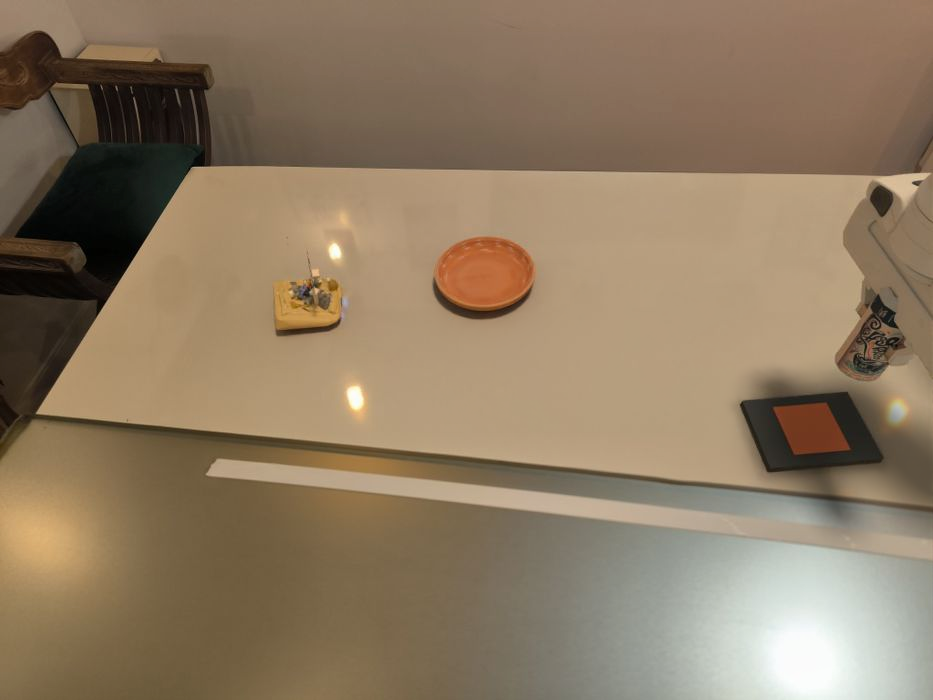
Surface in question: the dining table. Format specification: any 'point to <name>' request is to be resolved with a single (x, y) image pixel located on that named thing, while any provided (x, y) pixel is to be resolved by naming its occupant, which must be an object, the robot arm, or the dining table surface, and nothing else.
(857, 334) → the beer can
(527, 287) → the saucer
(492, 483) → the dining table surface
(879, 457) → the mat
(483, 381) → the dining table surface
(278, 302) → the cake
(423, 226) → the dining table surface
